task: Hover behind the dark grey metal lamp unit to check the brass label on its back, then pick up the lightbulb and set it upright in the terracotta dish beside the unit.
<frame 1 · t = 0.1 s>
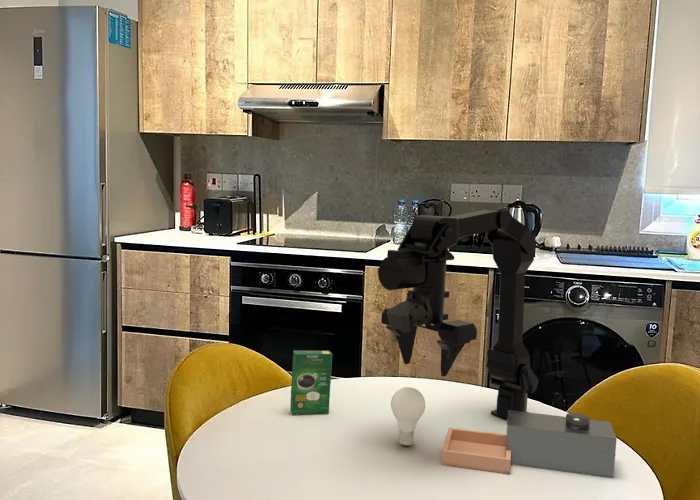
hand: (424, 369, 123), 15 cm above the table, tool pointing down, fingers open, 9 cm apart
coffee box: (310, 413, 140), on the table
dish: (477, 456, 121), on the table
lamp unit: (556, 461, 120), on the table
lightbulb: (406, 446, 125), on the table
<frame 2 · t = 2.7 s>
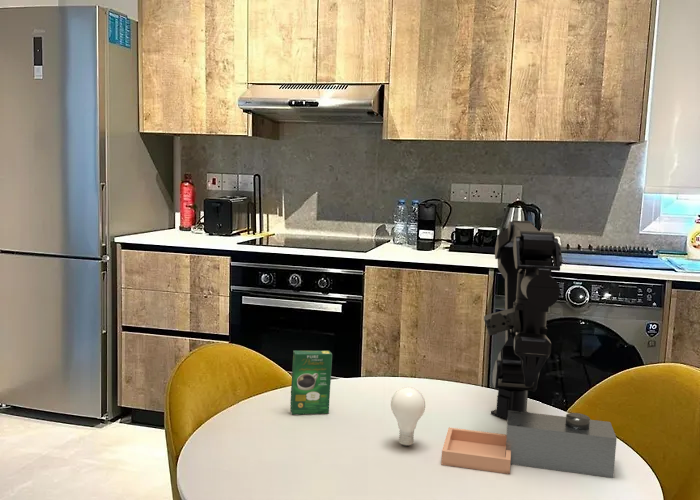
hand: (526, 379, 127), 12 cm above the table, tool pointing down, fingers open, 9 cm apart
nothing on the table moved.
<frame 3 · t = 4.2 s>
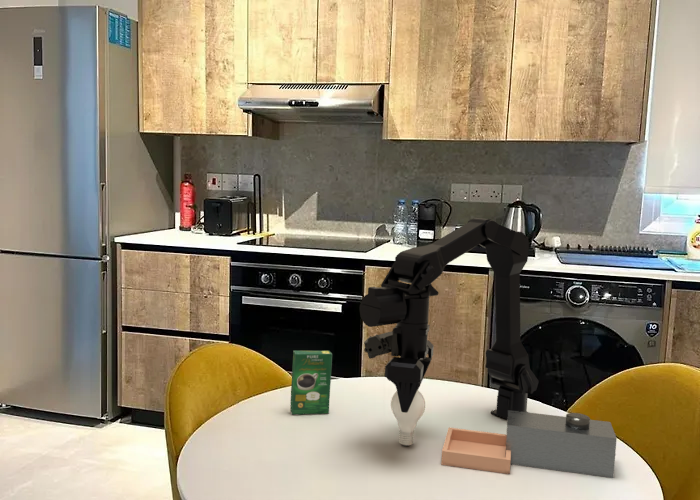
hand: (408, 403, 124), 8 cm above the table, tool pointing down, fingers open, 9 cm apart
nothing on the table moved.
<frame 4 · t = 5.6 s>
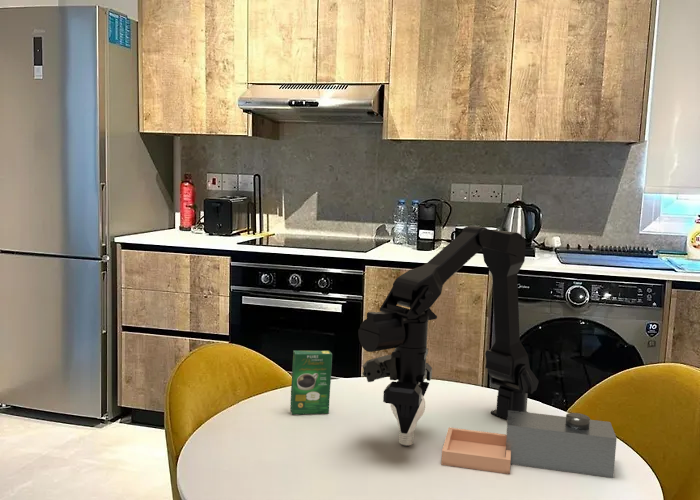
hand: (407, 427, 124), 4 cm above the table, tool pointing down, fingers closed on lightbulb, 6 cm apart
lightbulb: (406, 446, 125), on the table, touching gripper
everything else where it was.
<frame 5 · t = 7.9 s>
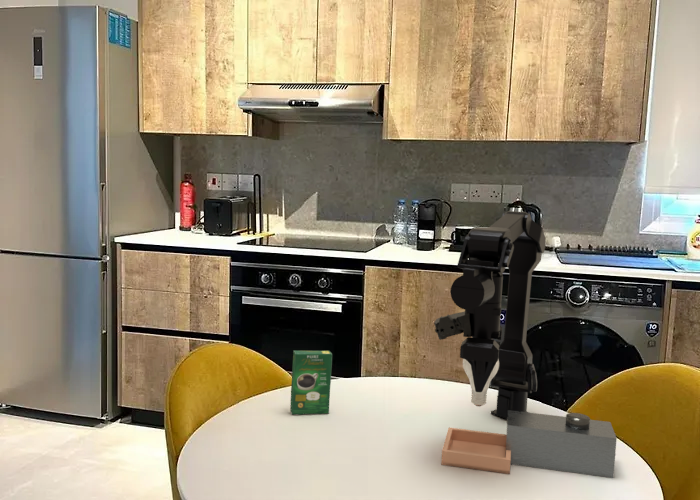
hand: (479, 386, 120), 13 cm above the table, tool pointing down, fingers closed on lightbulb, 6 cm apart
lightbulb: (478, 406, 120), point 9 cm above the table, touching gripper
everything else where it was.
when the fingers open (5 cm above the table, at t = 10.1 s): lightbulb drops 1 cm, resting on dish.
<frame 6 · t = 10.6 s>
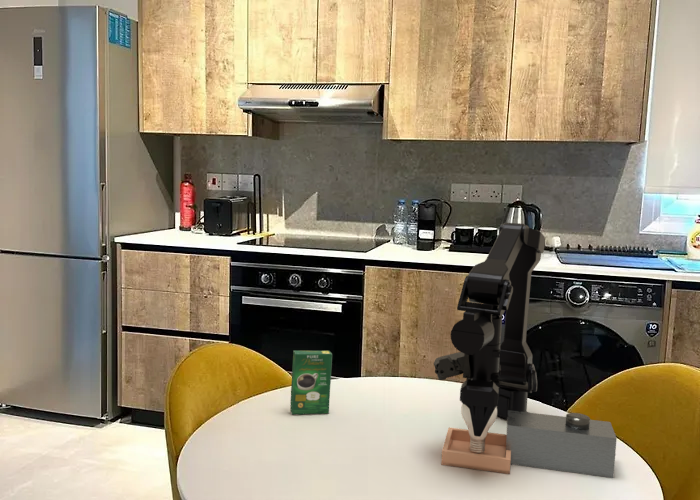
hand: (478, 426, 121), 5 cm above the table, tool pointing down, fingers open, 9 cm apart
lightbulb: (476, 453, 121), resting on dish
everything else where it was.
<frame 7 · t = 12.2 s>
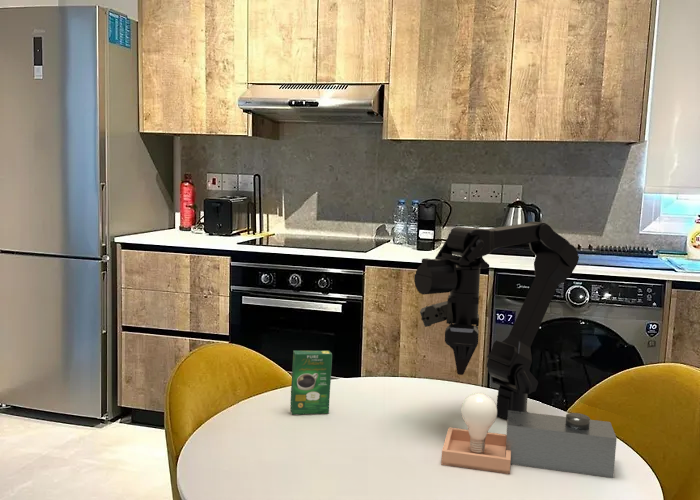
hand: (461, 367, 135), 12 cm above the table, tool pointing down, fingers open, 9 cm apart
nothing on the table moved.
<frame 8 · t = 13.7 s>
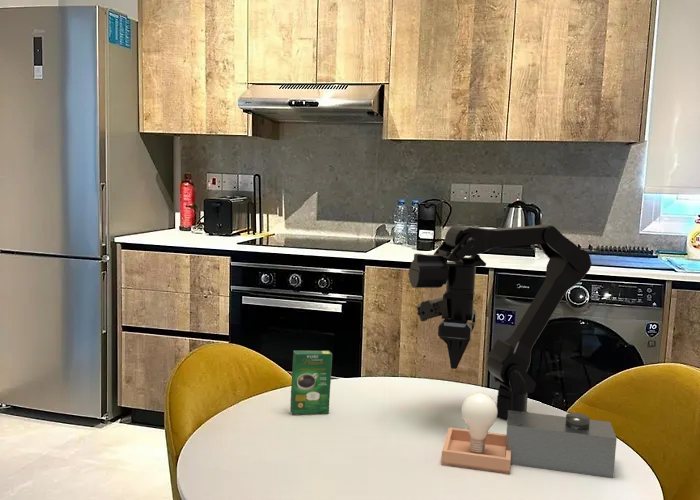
hand: (455, 362, 138), 12 cm above the table, tool pointing down, fingers open, 9 cm apart
nothing on the table moved.
at the end: lightbulb inside the target area on the dish (0.2 cm from its centre), point 0.3 cm above the dish's base; lightbulb tilted 0°; the gripper is holding nothing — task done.
